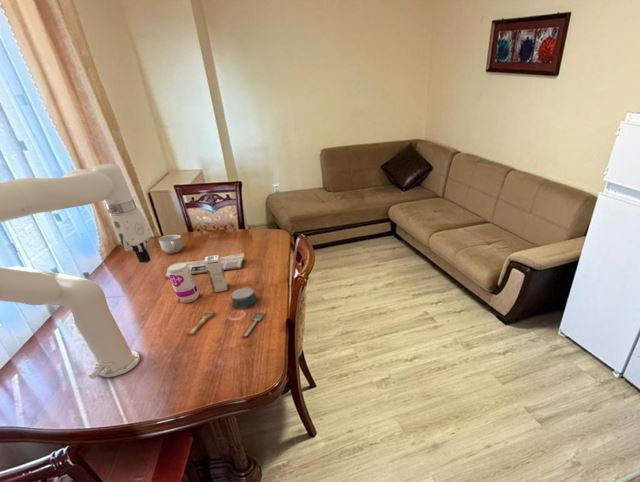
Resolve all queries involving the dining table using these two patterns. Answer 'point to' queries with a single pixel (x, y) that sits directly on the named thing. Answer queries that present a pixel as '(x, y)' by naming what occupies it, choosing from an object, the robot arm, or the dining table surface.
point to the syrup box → (216, 273)
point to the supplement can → (182, 282)
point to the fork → (253, 324)
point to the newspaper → (226, 262)
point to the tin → (243, 298)
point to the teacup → (171, 243)
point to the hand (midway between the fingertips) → (145, 261)
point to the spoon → (202, 321)
